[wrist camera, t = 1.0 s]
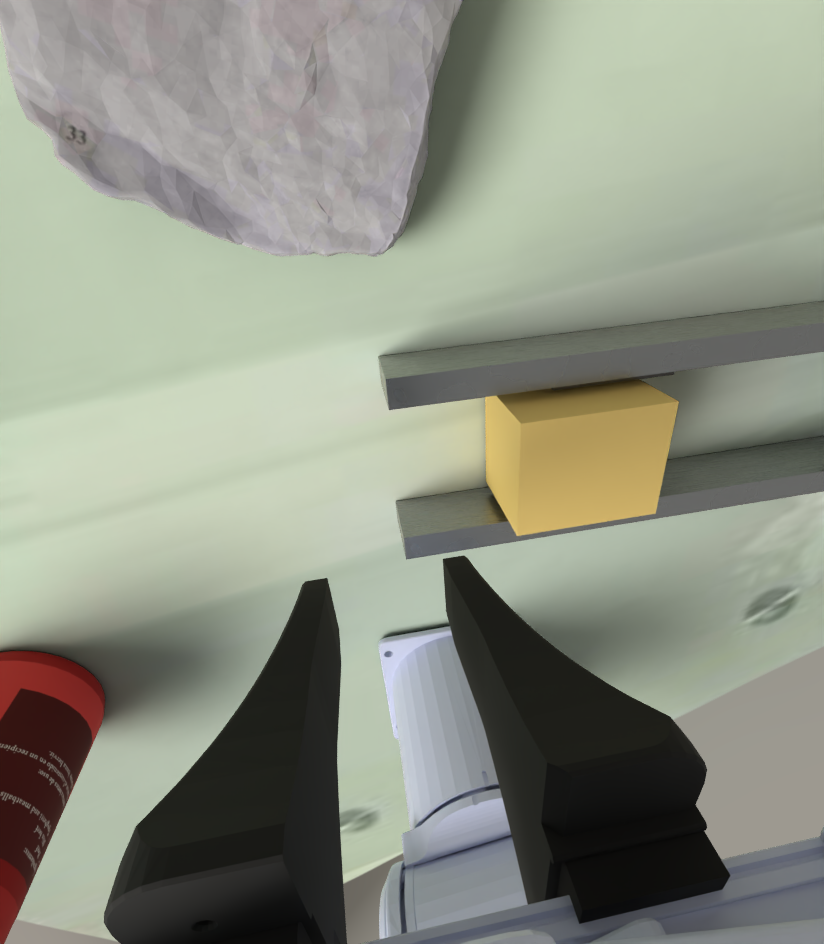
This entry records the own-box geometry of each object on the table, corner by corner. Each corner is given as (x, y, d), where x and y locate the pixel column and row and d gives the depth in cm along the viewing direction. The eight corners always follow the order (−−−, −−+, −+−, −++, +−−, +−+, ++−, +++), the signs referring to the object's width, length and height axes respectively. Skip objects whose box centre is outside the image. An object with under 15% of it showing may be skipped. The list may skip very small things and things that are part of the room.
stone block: (405, 252, 20) (477, -110, 14) (414, 294, 16) (518, -178, 10) (91, 185, 18) (6, -289, 11) (17, 215, 14) (-167, -461, 8)
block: (602, 463, 24) (655, 513, 20) (485, 481, 23) (517, 536, 19) (615, 366, 21) (678, 401, 17) (485, 383, 21) (520, 423, 17)
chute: (851, 450, 26) (908, 477, 23) (398, 521, 24) (406, 559, 21) (919, 288, 22) (998, 300, 19) (378, 356, 20) (385, 378, 17)
